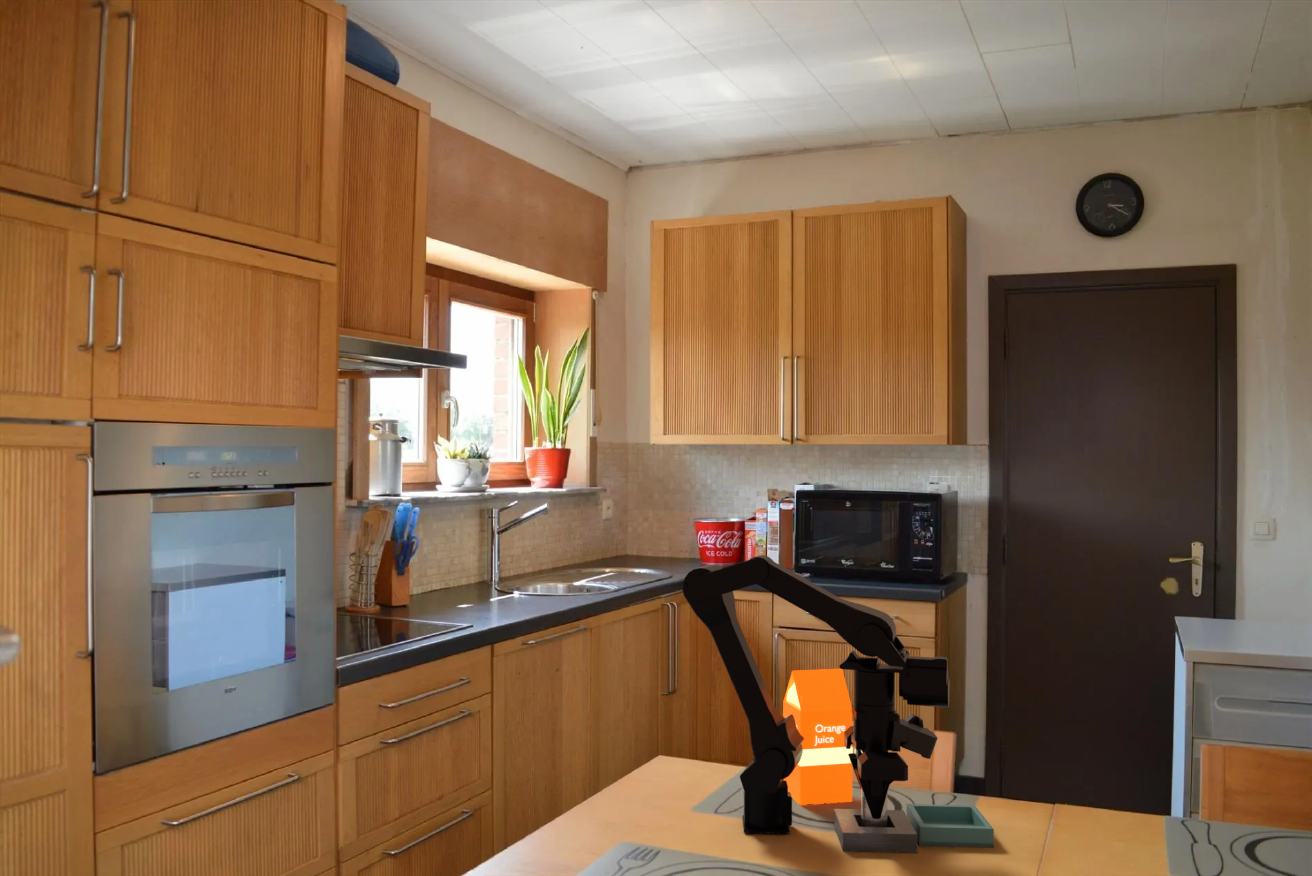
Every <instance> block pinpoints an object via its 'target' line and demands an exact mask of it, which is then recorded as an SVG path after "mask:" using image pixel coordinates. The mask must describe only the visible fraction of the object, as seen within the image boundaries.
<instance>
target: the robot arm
mask: <svg viewBox="0 0 1312 876" xmlns="http://www.w3.org/2000/svg"><path fill="white" fill-rule="evenodd" d="M754 585H758V586H760V588H761V587H762V588H763V589H765V590H767V591H768V592H770V593H772V594H774V595H775V596H778V597H779V598H781V599H782V600H785V601H786V602H788V603H790V604H792V605H793V606H795V607H797V608H799V609H800V610H802V611H804V612H806V613H807V614H809V615H812V616H813V617H815V618H816V619H818V620H821V621H822V622H823V623H825V624H827V625H828V626H829V627H830V628H832V629H833V630H834V631H835V632H836V633H837V634H838V636H840V637H841V638H842V640H844V641H845V642H846V643H848V645H850V646H852V648H854V649H855V650H856V651H857V652H859V653H860V654H862V655H863V656H860V655H858V653H856V651H855V650H851V651H850V653H849V654H848V656H847V657H846V658H845V659H843V661H841V663H840V664H839V669H842V670H845V671H846V670H848V671H849V670H850V671H853V704H851V706H852V716H853V725H852V726H850V727H849V728H848V729H847V730H846V731H845V732H844V745H845V747H846V749H850V748H851V745H852V746H853V753H850V754H848V756H849V759H850V761H851V764H852V770H853V772H854V774H855V777H856V779H857V783H858V785H859V787H860V789H861V787H862V790H863V793H864V796H865V799H866V802H867V804H868V807H869V810H870V813H871V816H872V818H873V819H880V818H881V814H882V811H883V807H884V803H885V799H886V795H887V796H888V791H889V788H890V786H891V784H892V783H893V782H906V781H909V765H908V764H907V762H906V761H905V759H904V758H903V757H902V756H901V755H900V754H899V753H898V752H900V753H901V749H904V750H907V751H909V752H913V753H915V754H918V755H920V756H921V758H924V759H928V760H930V759H931V757H932V754H933V753H934V748H935V747H936V745H937V741H938V738H939V737H938V736H937V735H936V734H935V733H934V732H933V731H932V730H930V729H929V728H927V727H924V721H923V719H922V718H921V717H920V716H918V715H916V714H912V713H910V714H909V715H908V716H907V717H906V718H905V719H904V718H901V716H900V714H899V713H898V712H897V710H896V697H895V696H896V673H897V674H898V695H899V696H898V697H900V698H902V700H903V701H906V704H907V705H908V706H922V707H923V706H924V707H933V708H934V707H935V708H950V687H951V685H950V684H951V682H950V677H949V666H948V664H949V663H948V657H946V656H933V657H929V656H928V657H927V656H915V655H914V656H913V655H911V653H910V652H909V651H908V650H907V647H906V646H905V645H904V643H903V642H902V641H901V640H900V638H899V637H898V636H897V626H896V624H895V621H894V620H893V618H892V617H891V615H889V614H888V613H886V612H884V611H881V610H879V609H876V608H873V607H870V606H867V605H864V604H862V603H861V604H860V603H859V602H858V603H857V602H852V601H849V600H847V599H844V598H841V597H839V596H837V595H835V594H833V593H832V592H830V591H828V590H826V589H824V588H822V587H821V586H819V585H817V584H815V583H813V582H812V581H810V580H808V579H806V578H805V577H802V576H800V575H799V574H797V573H796V572H793V571H792V570H789V569H788V568H786V567H784V566H782V564H779V563H777V562H775V561H774V560H773V559H772V558H771V557H770V556H767V555H765V554H759V555H756V556H754V557H752V558H749V559H747V560H745V561H741V562H737V563H735V564H730V565H727V566H725V567H724V566H723V567H721V566H719V565H716V564H707V565H703V566H701V567H697V568H694V569H692V570H690V571H689V572H688V573H687V574H686V575H685V577H684V579H683V581H682V585H681V590H682V593H683V597H684V598H685V600H686V602H687V603H688V605H689V607H690V608H691V609H692V611H693V613H694V615H696V617H697V618H698V619H699V620H700V621H701V622H702V624H703V625H704V626H705V627H706V628H707V629H708V631H709V632H710V635H711V638H713V642H714V644H715V646H716V648H717V650H718V652H719V655H720V657H721V659H722V662H723V664H724V667H725V669H726V672H727V674H728V676H729V678H730V681H731V683H732V685H733V688H734V690H735V692H736V695H737V698H738V700H739V702H740V704H741V706H742V709H743V711H744V713H745V716H746V718H747V721H748V722H747V723H748V730H749V738H750V745H751V749H752V753H753V758H754V759H752V761H750V763H749V764H748V765H747V766H746V767H745V769H744V770H743V771H742V773H740V775H739V779H740V782H741V784H742V785H741V787H742V789H743V815H742V818H741V819H742V829H743V833H747V834H784V835H785V834H786V835H787V834H790V827H791V826H792V825H793V799H792V796H791V793H790V792H789V791H788V785H787V781H785V780H784V779H785V778H787V777H788V776H789V775H790V774H791V773H792V772H793V770H794V769H795V767H796V766H797V764H798V763H799V761H800V759H801V757H802V753H803V748H802V744H801V743H802V741H803V740H804V737H803V736H802V735H801V734H800V733H799V731H798V730H797V727H796V723H795V719H794V716H793V714H791V715H789V716H787V717H786V718H784V717H783V714H782V713H781V712H780V711H779V710H778V709H777V707H776V706H775V704H774V701H773V699H772V697H771V695H770V693H769V691H768V688H767V685H766V682H765V681H764V679H763V676H762V674H761V672H760V669H759V667H758V665H757V663H756V661H755V658H754V656H753V654H752V650H751V649H750V646H749V644H748V641H747V639H746V637H745V635H744V632H743V631H742V628H741V625H740V623H739V620H738V616H737V608H736V601H735V600H736V599H735V594H734V591H737V590H742V589H745V588H747V587H750V586H754ZM880 660H881V661H883V662H884V663H881V661H880Z"/></svg>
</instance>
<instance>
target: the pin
mask: <svg viewBox="0 0 1312 876" xmlns="http://www.w3.org/2000/svg"><path fill="white" fill-rule="evenodd" d="M860 791H861V792H860V794H861V795H860V800H861V801H860V804H861V805H860V809H861V827H887V810H888V794H887V795H886V799H885V803H884V807H883V811H882V814H881V818H880V819H873V818H872V816H871V813H870V810H869V807H868V804H867V802H866V799H865V796H864V793H863V790H862V787H861V788H860Z"/></svg>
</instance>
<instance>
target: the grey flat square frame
mask: <svg viewBox="0 0 1312 876" xmlns="http://www.w3.org/2000/svg"><path fill="white" fill-rule="evenodd" d="M833 826H834V829H835V833H836V836H837V838H838V841H839V844H840V847H841V849H842V852H865V853H866V852H867V853H900V854H901V853H904V854H918V840H917V833H916V831H915V830H914V828H913V826H912V824H911V823H910V821H909V819H908V817H907V813H906V812H905V811H904V810H903V809H902V810H900V809H898V810H897V809H887V827H861V808H860V809H857V808H854V809H853V808H833Z"/></svg>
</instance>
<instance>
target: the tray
mask: <svg viewBox="0 0 1312 876" xmlns="http://www.w3.org/2000/svg"><path fill="white" fill-rule="evenodd" d="M906 816H907V817H908V819H909V821H910V823H911V824H912V826H913V828H914V830H915V831H916V833H917V843H918V844H919V845H920V846H933V847H934V846H935V847H938V846H939V847H968V848H969V847H971V848H972V847H975V848H977V847H978V848H982V847H983V848H994V844H995V843H994V840H995V839H994V834H995V833H994V827H993V826H992V825H991V823H990V822H989V821H988V820H987V818H986V817H985V816H984V815H983V813H982V812H981V811H980V810H979V809H978V807H977V806H976V805H970V804H969V805H968V804H966V805H964V804H932V803H931V804H930V803H929V804H926V803H925V804H924V803H923V804H922V803H921V804H920V803H906Z"/></svg>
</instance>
